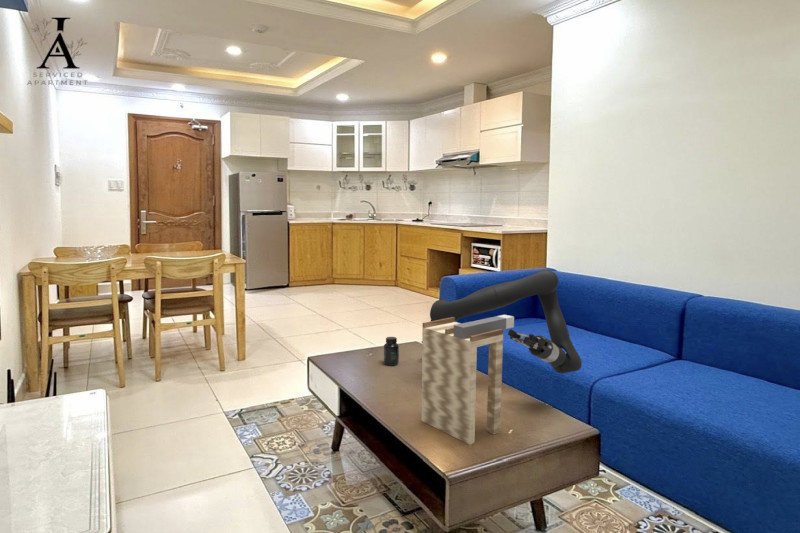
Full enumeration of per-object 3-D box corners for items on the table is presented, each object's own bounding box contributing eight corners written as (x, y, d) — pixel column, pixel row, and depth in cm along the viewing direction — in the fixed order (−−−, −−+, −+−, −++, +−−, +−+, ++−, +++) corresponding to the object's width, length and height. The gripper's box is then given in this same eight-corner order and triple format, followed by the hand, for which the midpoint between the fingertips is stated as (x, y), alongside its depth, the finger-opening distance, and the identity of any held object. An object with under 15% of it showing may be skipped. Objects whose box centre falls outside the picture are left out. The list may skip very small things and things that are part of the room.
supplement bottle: (381, 362, 237) (381, 336, 235) (395, 361, 239) (395, 335, 238) (386, 367, 230) (386, 340, 229) (400, 365, 233) (401, 339, 231)
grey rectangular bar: (453, 336, 160) (453, 325, 159) (504, 324, 175) (504, 314, 174) (463, 339, 156) (463, 327, 156) (513, 327, 172) (514, 316, 171)
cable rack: (421, 420, 174) (422, 322, 170) (451, 410, 183) (452, 317, 179) (469, 444, 158) (472, 336, 153) (500, 431, 166) (503, 329, 162)
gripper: (531, 335, 193) (506, 320, 184) (564, 343, 182) (540, 327, 173) (524, 354, 192) (499, 340, 182) (557, 363, 181) (532, 348, 171)
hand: (519, 334), depth 177 cm, fingers open, 8 cm apart
